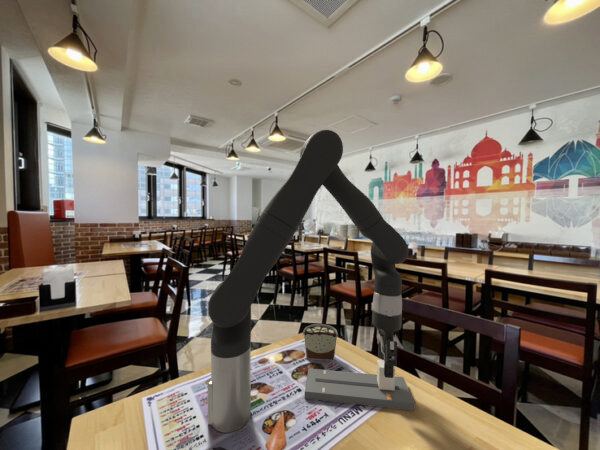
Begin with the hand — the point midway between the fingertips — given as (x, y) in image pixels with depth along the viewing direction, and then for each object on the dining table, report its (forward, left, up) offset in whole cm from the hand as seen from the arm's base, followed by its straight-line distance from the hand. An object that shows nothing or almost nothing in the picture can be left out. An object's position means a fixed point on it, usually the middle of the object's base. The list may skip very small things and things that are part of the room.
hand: (385, 366), depth 67 cm
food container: (-19, +17, -8) cm, 26 cm away
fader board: (-8, 0, -8) cm, 11 cm away
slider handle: (0, 0, -5) cm, 5 cm away
